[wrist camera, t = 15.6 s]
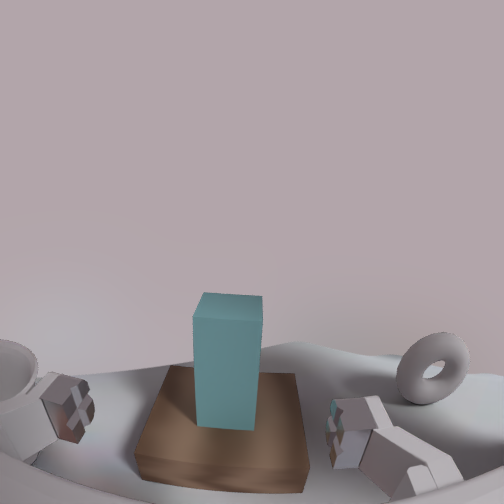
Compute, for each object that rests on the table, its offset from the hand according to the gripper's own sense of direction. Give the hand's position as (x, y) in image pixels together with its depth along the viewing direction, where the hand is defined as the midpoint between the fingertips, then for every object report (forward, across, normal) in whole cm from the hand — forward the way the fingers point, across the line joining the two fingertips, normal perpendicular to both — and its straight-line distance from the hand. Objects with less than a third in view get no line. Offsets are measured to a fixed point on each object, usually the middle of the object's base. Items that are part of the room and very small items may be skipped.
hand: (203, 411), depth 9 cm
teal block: (+15, +1, +14) cm, 21 cm away
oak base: (+15, +1, +18) cm, 24 cm away
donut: (+21, -23, +19) cm, 36 cm away
